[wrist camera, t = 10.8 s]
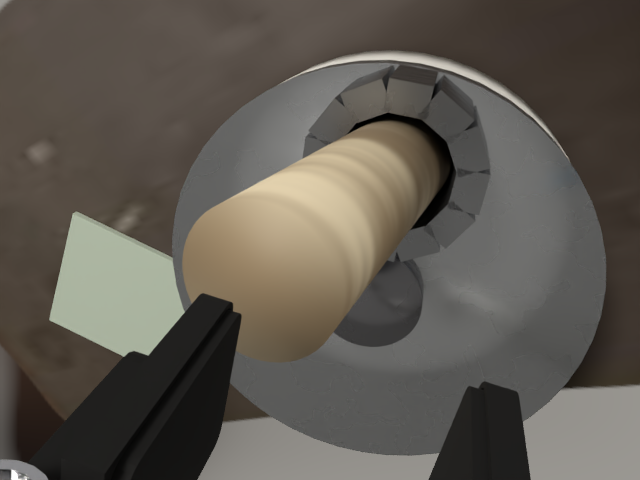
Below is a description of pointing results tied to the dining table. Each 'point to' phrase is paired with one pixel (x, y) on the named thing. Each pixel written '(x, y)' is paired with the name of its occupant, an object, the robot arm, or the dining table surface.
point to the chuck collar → (422, 259)
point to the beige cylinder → (315, 234)
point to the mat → (115, 289)
